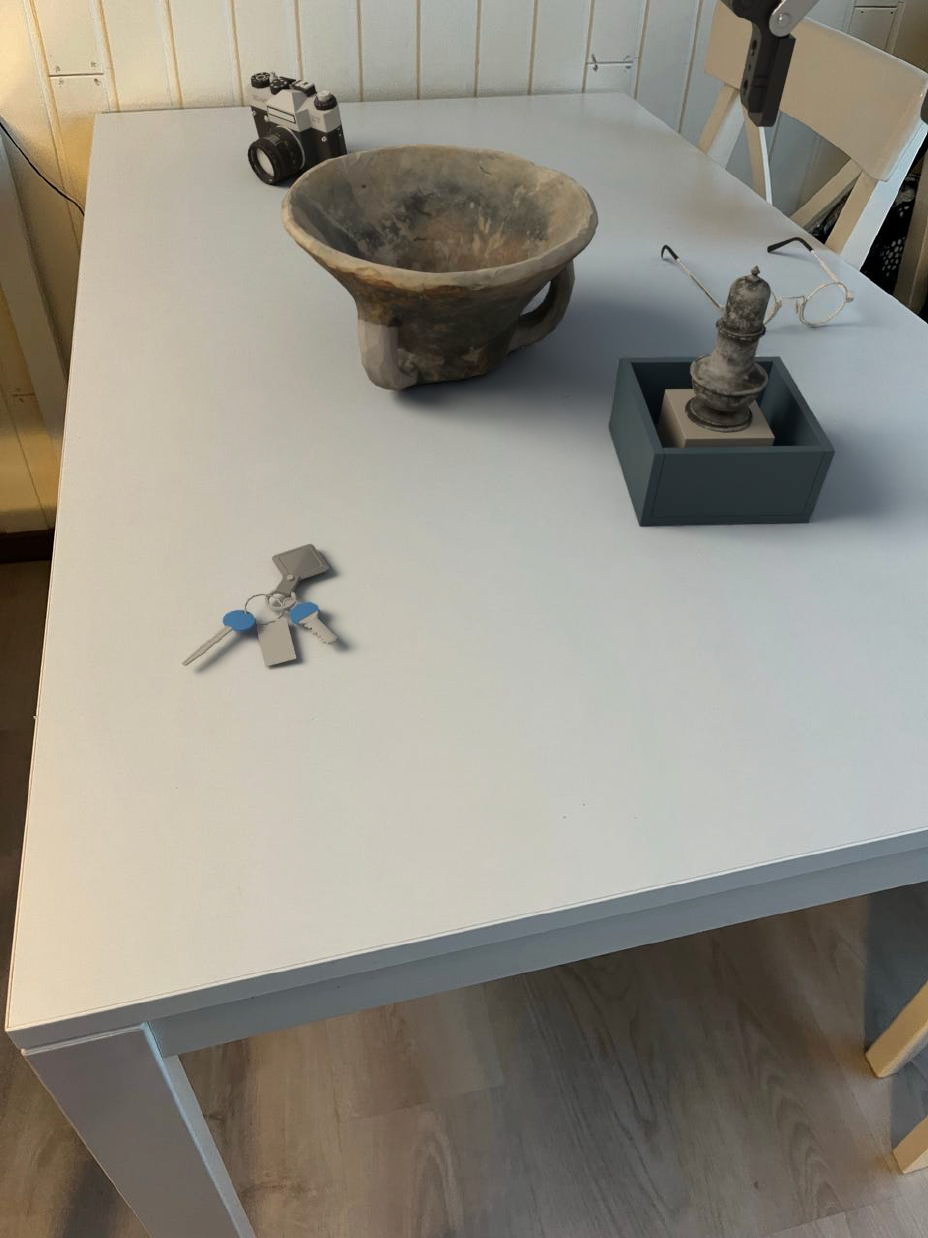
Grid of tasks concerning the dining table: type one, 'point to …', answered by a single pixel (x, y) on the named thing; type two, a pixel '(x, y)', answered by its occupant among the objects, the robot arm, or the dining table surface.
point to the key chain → (280, 610)
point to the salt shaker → (732, 361)
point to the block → (685, 433)
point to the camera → (292, 126)
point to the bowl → (442, 253)
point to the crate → (716, 453)
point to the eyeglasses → (776, 304)
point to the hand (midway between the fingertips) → (847, 123)
